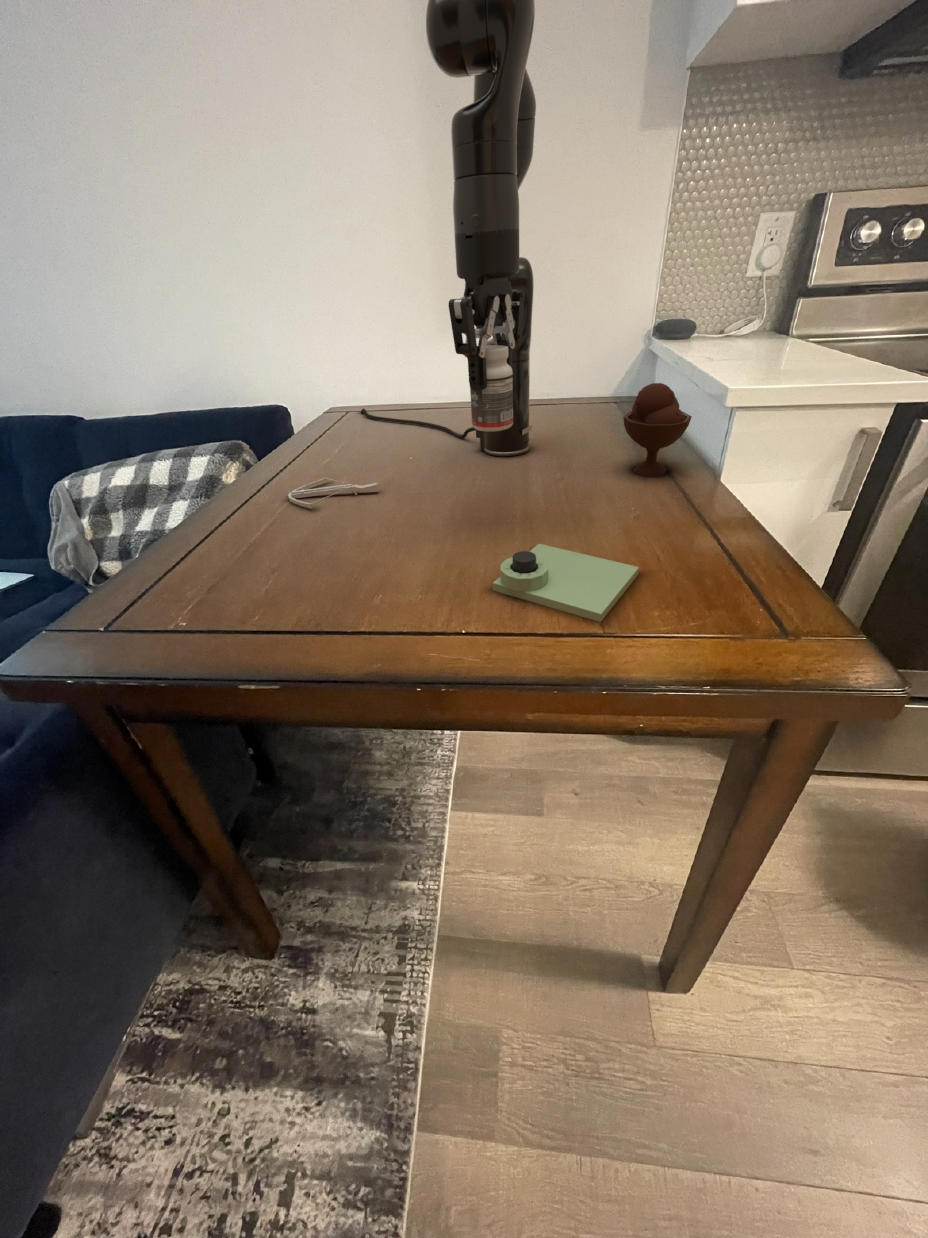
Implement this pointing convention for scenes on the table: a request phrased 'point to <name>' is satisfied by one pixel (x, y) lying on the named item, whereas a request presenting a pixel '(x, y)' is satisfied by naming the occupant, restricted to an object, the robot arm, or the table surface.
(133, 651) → the table surface
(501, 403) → the pill bottle
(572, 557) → the scale
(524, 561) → the button
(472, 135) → the robot arm
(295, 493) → the crossbow
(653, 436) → the ice cream bowl
